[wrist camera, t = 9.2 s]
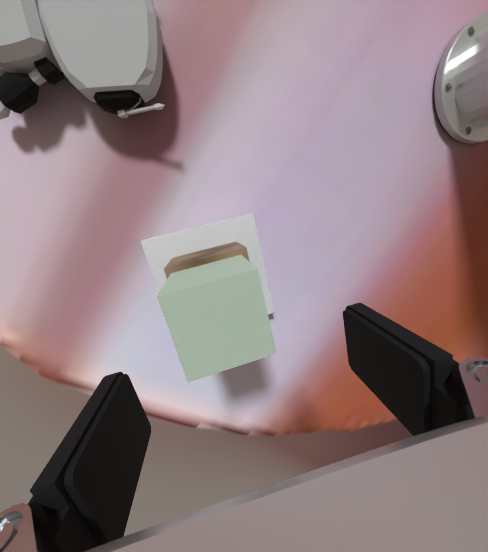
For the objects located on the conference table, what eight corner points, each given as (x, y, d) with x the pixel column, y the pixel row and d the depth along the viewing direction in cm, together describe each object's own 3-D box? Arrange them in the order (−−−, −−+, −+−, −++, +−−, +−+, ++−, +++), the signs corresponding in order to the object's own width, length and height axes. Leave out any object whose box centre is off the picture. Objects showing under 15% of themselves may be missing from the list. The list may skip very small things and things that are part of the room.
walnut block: (236, 241, 25) (246, 247, 19) (250, 299, 27) (263, 320, 21) (172, 257, 24) (163, 269, 19) (191, 316, 26) (188, 343, 20)
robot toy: (17, 138, 22) (178, 125, 23) (-34, 117, 17) (168, 103, 18) (-37, -32, 18) (153, -38, 20) (-116, -110, 14) (134, -111, 15)
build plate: (250, 213, 26) (252, 212, 25) (271, 309, 29) (274, 312, 28) (143, 239, 25) (140, 240, 23) (177, 336, 28) (176, 341, 27)
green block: (241, 254, 19) (257, 268, 14) (256, 317, 21) (276, 353, 15) (170, 273, 19) (157, 296, 13) (192, 336, 20) (188, 382, 15)
